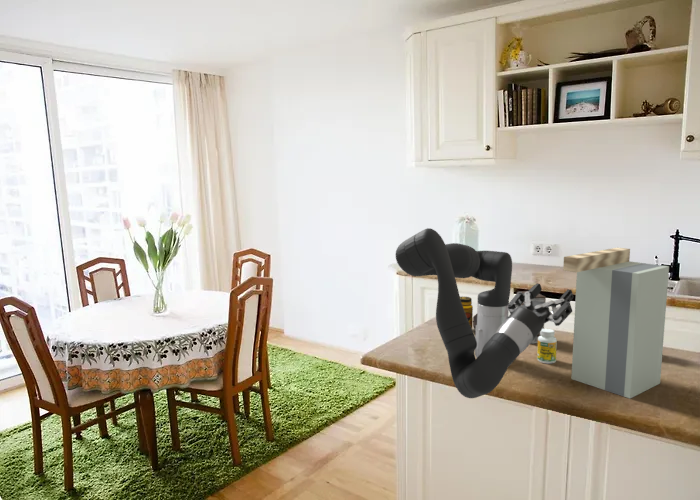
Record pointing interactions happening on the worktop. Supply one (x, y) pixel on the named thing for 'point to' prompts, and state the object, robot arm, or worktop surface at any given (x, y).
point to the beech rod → (596, 259)
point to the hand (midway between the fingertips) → (554, 289)
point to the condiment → (468, 309)
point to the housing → (620, 327)
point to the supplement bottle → (547, 346)
